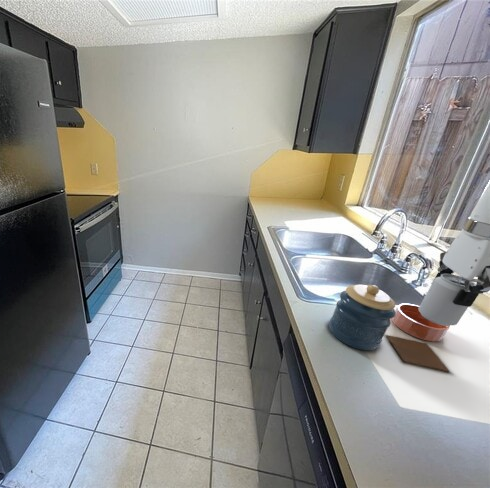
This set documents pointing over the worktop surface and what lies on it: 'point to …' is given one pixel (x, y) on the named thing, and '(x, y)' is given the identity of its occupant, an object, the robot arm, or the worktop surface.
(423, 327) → the bowl
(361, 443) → the worktop surface
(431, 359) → the mat
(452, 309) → the can
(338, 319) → the canister
